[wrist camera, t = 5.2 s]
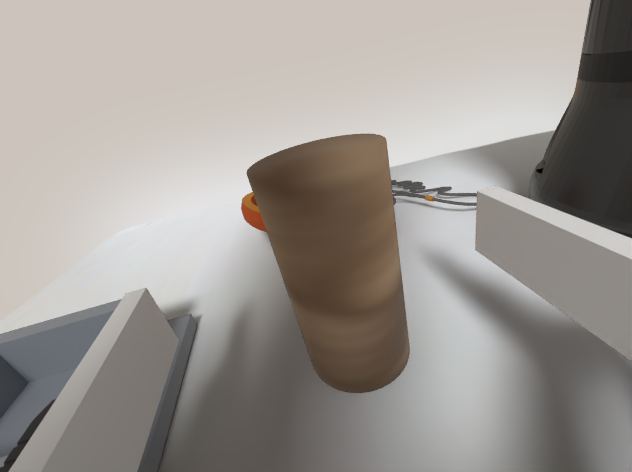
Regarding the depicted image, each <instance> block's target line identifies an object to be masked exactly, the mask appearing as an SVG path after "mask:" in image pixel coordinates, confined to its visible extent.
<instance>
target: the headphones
mask: <svg viewBox="0 0 632 472" xmlns="http://www.w3.org/2000/svg"><path fill="white" fill-rule="evenodd" d="M396 184H398V185H399V186H403V189H410V192H412V193H408V192H403V191H395V190H392V192H393V193H396V194H392V195H393V196H412V197H419V198H424V199H425V200H428V201H438V202H443V203H449V204H455V205H466V206H477V203H463V202H454V201H447V200H441V199H436V198H435V197H433V196H428V195H427V196H423V195H419V194H414V193H423V192H429V191H436V190H440V191H438V194H440V195H445V196H477V193H442V192H444V191H447V190H450V189H452V187H440V188H434V189H428V190H420V189H425V188H426V187H425V186H419V185H422V184H423V183H422V182H413V183H412V181H402V182H396V180H392V181H391V185H396ZM406 185H407V186H406ZM412 188H413V189H412ZM442 189H443V190H442ZM415 190H420V191H415ZM395 203H396V199H395V198H394V197H393V204H394V205H395ZM241 209H242V213H243V216H244V219H245V220H246V222H247V223H249V224H250V225H251V226H253V227H255V228H257V229H259V230H262V231H265V232H267V231H266V228H265V225H264V222H263V220H262V217H261V214H260V211H259V208H258V205H257V202H256V199H255V196H254V193H253V192H252V193H250V194H247V195H246V196H245V197H244V198H243V199H242V207H241Z"/></svg>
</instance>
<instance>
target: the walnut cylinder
mask: <svg viewBox="0 0 632 472" xmlns="http://www.w3.org/2000/svg"><path fill="white" fill-rule="evenodd" d="M247 176H248V179H249V182H250V185H251V187H252V191H253V193H254V196H255V199H256V202H257V205H258V208H259V211H260V214H261V217H262V220H263V222H264V225H265V228H266V231H267V234H268V237H269V240H270V243H271V246H272V248H273V251H274V254H275V257H276V260H277V263H278V266H279V269H280V272H281V274H282V277H283V280H284V283H285V286H286V289H287V292H288V295H289V298H290V300H291V303H292V306H293V309H294V312H295V315H296V318H297V321H298V324H299V326H300V329H301V332H302V335H303V338H304V341H305V344H306V347H307V350H308V353H309V355H310V358H311V361H312V364H313V367H314V369H315V371H316V373H317V374H318V376H319V377H320V378H321V379H322V380H323V381H324V382H326V383H327V384H328V385H330V386H332V387H334V388H336V389H338V390H342V391H345V392H352V393H363V392H370V391H374V390H377V389H379V388H382V387H384V386H386V385H388V384H389V383H391V382H392V381H393V380H395V379H396V378H397V377H398V376H399V375H400V374H401V372H402V371H403V370H404V368H405V366H406V364H407V361H408V358H409V339H408V330H407V321H406V312H405V303H404V294H403V285H402V276H401V267H400V258H399V249H398V240H397V231H396V222H395V213H394V204H393V195H392V187H391V178H390V169H389V160H388V151H387V142H386V138H385V137H383V136H380V135H376V134H352V135H343V136H337V137H331V138H326V139H321V140H316V141H312V142H308V143H304V144H301V145H297V146H294V147H291V148H288V149H285V150H282V151H279V152H277V153H274V154H272V155H270V156H267V157H266V158H264V159H261V160H260V161H258V162H256V163H255V164H253V165H252V166H251V167H250V168H249V169H248V170H247Z"/></svg>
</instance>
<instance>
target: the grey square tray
mask: <svg viewBox="0 0 632 472" xmlns="http://www.w3.org/2000/svg"><path fill="white" fill-rule="evenodd" d="M121 300H122V299H120V300H117V301H113V302H110V303H107V304H103V305H100V306H96V307H93V308H89V309H86V310H82V311H79V312H75V313H72V314H68V315H65V316H61V317H58V318H55V319H51V320H48V321H44V322H41V323H37V324H34V325H30V326H27V327H23V328H20V329H16V330H13V331H9V332H6V333H2V334H0V467H3V466H4V461H5V460H6V458H7V457H8V455H9V454H10V453H11V451H12V450H13V448H15V447H17V442H18V441H19V439H20V438H21V437H22V435H23V434H24V432H25V431H26V429H27V428H28V426H29V425H30V423H31V422H32V421H33V420H34V419H35V418H36V416H37V415H38V414H39V413H40V412H41V411H42V410H43V409H44V408H45V407H46V406H47V405H48V404H49V403H50V402H51V401H52V400H54V399H57V397H58V396H59V394H60V393H61V391H62V390H63V388H64V387H65V385H66V383H67V382H68V380H69V379H70V377H71V376H72V374H73V373H74V371H75V370H76V368H77V367H78V365H79V364H80V362H81V361H82V359H83V358H84V356H85V355H86V353H87V352H88V350H89V349H90V347H91V345H92V344H93V342H94V341H95V339H96V338H97V336H98V335H99V333H100V332H101V330H102V329H103V327H104V326H105V324H106V323H107V321H108V320H109V318H110V317H111V315H112V314H113V312H114V311H115V309H116V307H117V306H118V304H119V303H120V301H121ZM168 323H169V325H170V326H171V328H172V329H173V331H174V333H175V334H176V336H177V337H178V339H179V342H178V345H177V348H176V351H175V354H174V357H173V361H172V364H171V367H170V370H169V373H168V376H167V380H166V383H165V386H164V389H163V392H162V395H161V398H160V402H159V405H158V408H157V411H156V414H155V417H154V421H153V424H152V427H151V430H150V433H149V436H148V439H147V443H146V446H145V449H144V452H143V455H142V458H141V462H140V465H139V468H138V471H137V472H157V471H158V468H159V464H160V460H161V457H162V453H163V449H164V445H165V442H166V438H167V434H168V431H169V427H170V423H171V420H172V416H173V412H174V409H175V405H176V401H177V397H178V394H179V390H180V386H181V383H182V379H183V375H184V372H185V368H186V364H187V361H188V357H189V353H190V349H191V346H192V342H193V338H194V335H195V331H196V327H197V324H196V322H195V320H194V319H193V317H192V315H191V314H188V315H185V316H182V317H178V318H175V319H171V320H168Z"/></svg>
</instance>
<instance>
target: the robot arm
mask: <svg viewBox="0 0 632 472" xmlns="http://www.w3.org/2000/svg"><path fill="white" fill-rule="evenodd" d="M475 250H476V251H478V252H479V253H481V254H482V255H483V256H485V257H486V258H488V259H489V260H490V261H492V262H493V263H495V264H496V265H497V266H499V267H500V268H502V269H503V270H504V271H506V272H507V273H509V274H510V275H511V276H513V277H514V278H516V279H517V280H518V281H520V282H521V283H523V284H524V285H525V286H527V287H528V288H530V289H531V290H532V291H534V292H535V293H537V294H538V295H539V296H541V297H542V298H544V299H545V300H546V301H548V302H549V303H551V304H552V305H553V306H555V307H556V308H558V309H559V310H560V311H562V312H563V313H565V314H566V315H567V316H569V317H570V318H572V319H573V320H574V321H576V322H577V323H579V324H580V325H581V326H583V327H584V328H586V329H587V330H588V331H590V332H591V333H593V334H594V335H595V336H597V337H598V338H600V339H601V340H602V341H604V342H605V343H607V344H608V345H609V346H611V347H612V348H614V349H615V350H616V351H618V352H619V353H621V354H622V355H623V356H625V357H626V358H628V359H629V360H630V361H632V0H591V3H590V8H589V14H588V20H587V25H586V31H585V37H584V42H583V48H582V55H581V60H580V66H579V72H578V78H577V83H576V88H575V92H574V95H573V97H572V100H571V102H570V104H569V106H568V107H567V109H566V111H565V113H564V115H563V117H562V119H561V121H560V123H559V125H558V127H557V129H556V131H555V133H554V135H553V137H552V139H551V141H550V143H549V145H548V148H547V150H546V153H545V155H544V158H543V160H542V161H541V162H540V163H539V164H538V165H537V166H536V168H535V170H534V172H533V174H532V177H531V181H530V190H529V198H525V197H523V196H520V195H518V194H515V193H513V192H510V191H507V190H505V189H502V188H500V187H497V186H493V187H489V188H486V189H482V190H479V191H477V211H476V244H475ZM178 342H179V339H178V337H177V336H176V334H175V333H174V331H173V329H172V328H171V326H170V325H169V323H168V321H167V320H166V318H165V317H164V315H163V314H162V312H161V310H160V309H159V307H158V306H157V304H156V302H155V301H154V299H153V298H152V296H151V294H150V293H149V291H148V290H147V288H143V289H140V290H137V291H133V292H130V293H126V294H125V295H124V297H123V298H122V300H121V301H120V303H119V304H118V306H117V307H116V309H115V311H114V312H113V314H112V315H111V317H110V318H109V320H108V321H107V323H106V324H105V326H104V327H103V329H102V330H101V332H100V333H99V335H98V336H97V338H96V339H95V341H94V342H93V344H92V345H91V347H90V349H89V350H88V352H87V353H86V355H85V356H84V358H83V359H82V361H81V362H80V364H79V365H78V367H77V368H76V370H75V371H74V373H73V374H72V376H71V377H70V379H69V380H68V382H67V383H66V385H65V387H64V388H63V390H62V391H61V393H60V394H59V396H58V397H57V399H54V400H52V401H51V402H50V403H49V404H48V405H47V406H46V407H45V408H44V409H43V410H42V411H41V412H40V413H39V414H38V415H37V416H36V418H35V419H34V420H33V421H32V422H31V423H30V425H29V426H28V428H27V429H26V431H25V432H24V434H23V435H22V437H21V438H20V439H19V441H18V442H17V447H15V448H13V450H12V451H11V453H10V454H9V455H8V457H7V458H6V460H5V461H4V466H3V467H0V472H137V471H138V468H139V465H140V462H141V458H142V455H143V452H144V449H145V446H146V443H147V439H148V436H149V433H150V430H151V427H152V424H153V421H154V417H155V414H156V411H157V408H158V405H159V402H160V398H161V395H162V392H163V389H164V386H165V383H166V380H167V376H168V373H169V370H170V367H171V364H172V361H173V357H174V354H175V351H176V348H177V345H178Z"/></svg>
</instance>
